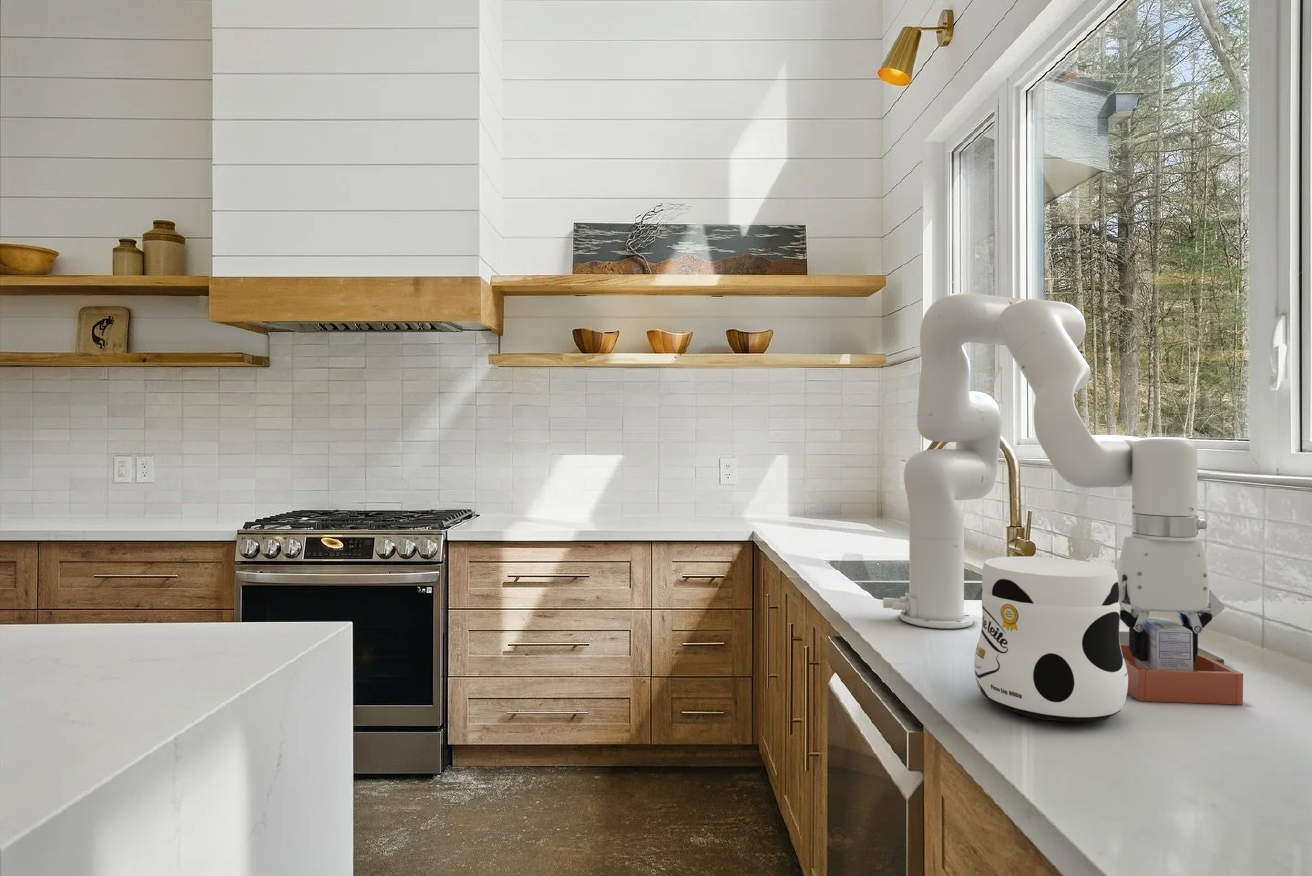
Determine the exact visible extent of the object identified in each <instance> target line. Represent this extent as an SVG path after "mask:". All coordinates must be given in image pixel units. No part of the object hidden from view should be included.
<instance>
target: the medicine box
mask: <svg viewBox="0 0 1312 876" xmlns="http://www.w3.org/2000/svg"><path fill="white" fill-rule="evenodd" d="M1144 631H1145V632H1147V633H1148V660H1147V661H1140V660H1139V659H1137V658H1135V665H1136V666H1138V667H1140V668H1141V669H1161V670H1191V671H1193V633H1192V631H1191V630H1189V629H1187V628H1185V627H1184V626H1182V624H1180V623H1178V622H1175V620H1172V619H1170V618H1168V617H1158V616H1148V618H1147V621H1146V624H1145V627H1144Z"/></svg>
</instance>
